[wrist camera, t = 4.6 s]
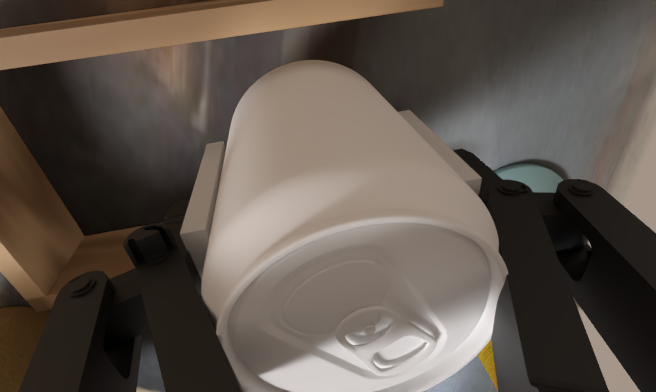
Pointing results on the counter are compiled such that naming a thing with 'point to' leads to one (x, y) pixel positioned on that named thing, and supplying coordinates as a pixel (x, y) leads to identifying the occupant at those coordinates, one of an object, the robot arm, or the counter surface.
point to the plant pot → (18, 343)
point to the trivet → (531, 176)
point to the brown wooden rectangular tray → (103, 39)
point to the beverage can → (344, 243)
